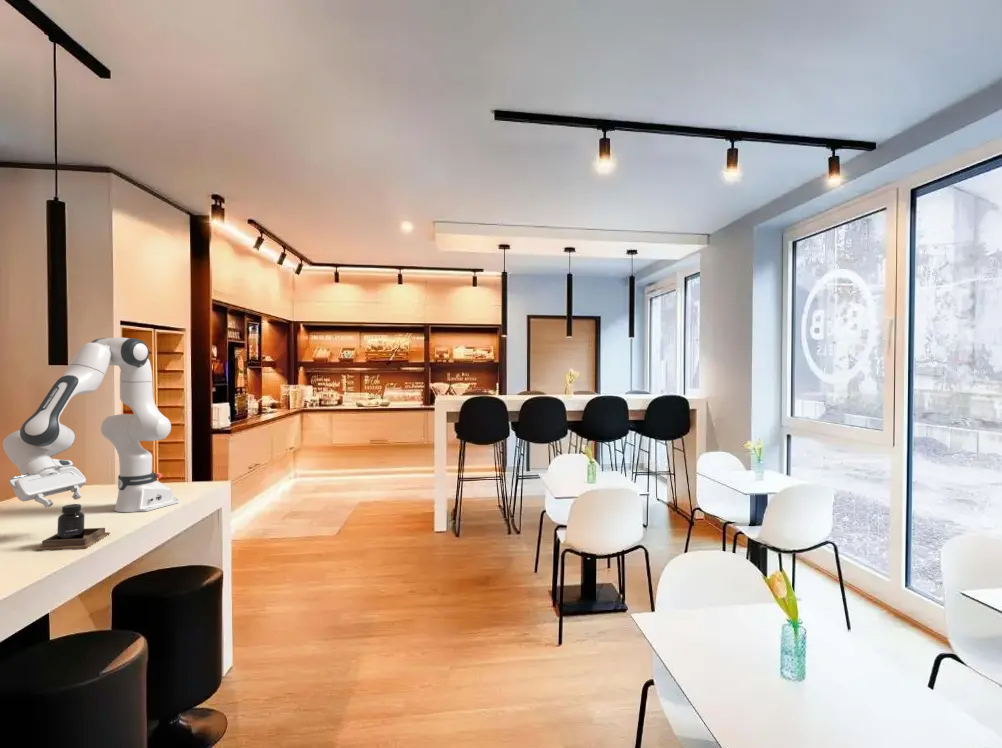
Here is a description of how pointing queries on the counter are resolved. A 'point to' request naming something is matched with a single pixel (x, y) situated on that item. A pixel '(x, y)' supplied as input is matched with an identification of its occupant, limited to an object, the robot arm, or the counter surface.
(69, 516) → the supplement bottle
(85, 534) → the walnut tray
